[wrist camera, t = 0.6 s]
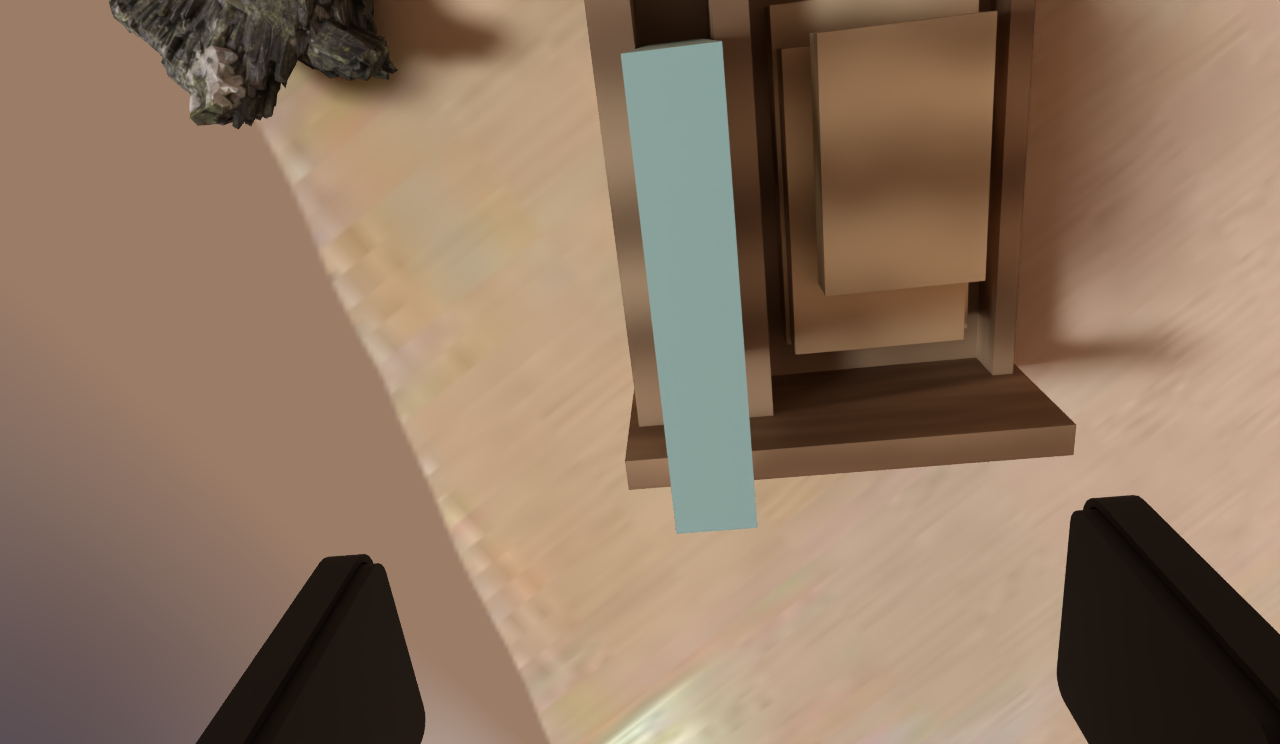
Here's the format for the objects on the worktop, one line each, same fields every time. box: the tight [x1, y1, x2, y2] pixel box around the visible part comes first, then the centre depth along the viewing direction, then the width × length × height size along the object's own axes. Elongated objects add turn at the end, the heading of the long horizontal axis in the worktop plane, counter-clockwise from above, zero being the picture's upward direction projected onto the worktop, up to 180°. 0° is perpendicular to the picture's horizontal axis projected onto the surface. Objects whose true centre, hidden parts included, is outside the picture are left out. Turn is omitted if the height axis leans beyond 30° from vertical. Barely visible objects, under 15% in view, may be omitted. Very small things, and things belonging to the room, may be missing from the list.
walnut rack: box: [584, 0, 1076, 490], centre depth 37 cm, size 24×20×10 cm
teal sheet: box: [621, 38, 757, 534], centre depth 32 cm, size 14×2×20 cm, turn 7°
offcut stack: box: [765, 0, 997, 355], centre depth 38 cm, size 16×9×6 cm, turn 7°
